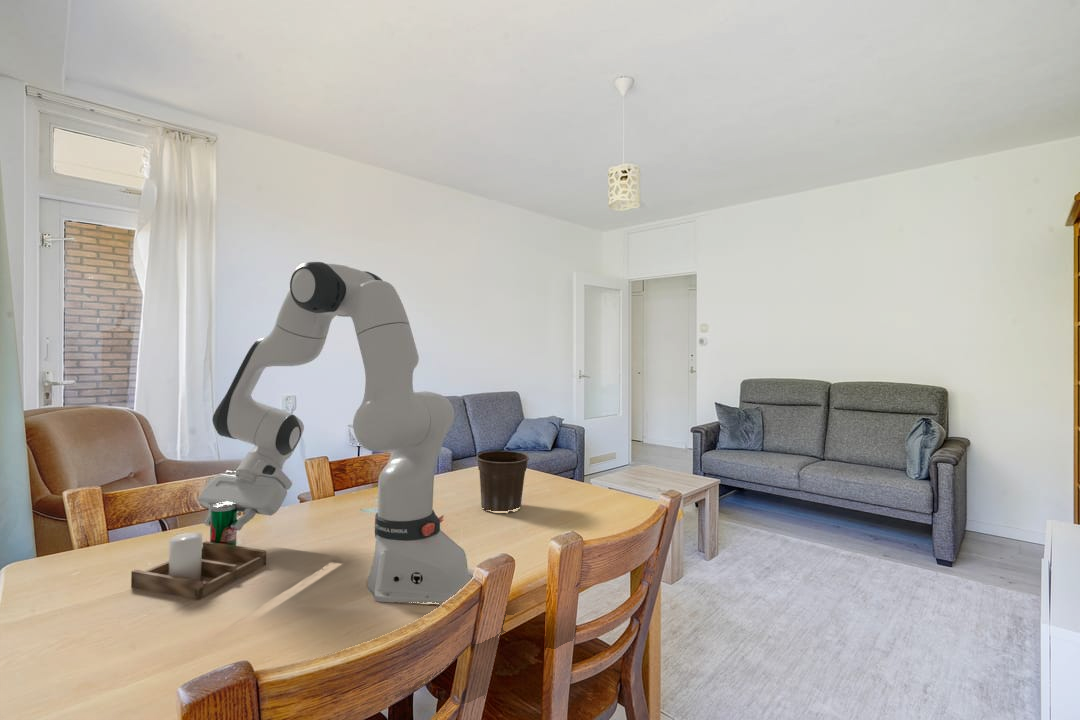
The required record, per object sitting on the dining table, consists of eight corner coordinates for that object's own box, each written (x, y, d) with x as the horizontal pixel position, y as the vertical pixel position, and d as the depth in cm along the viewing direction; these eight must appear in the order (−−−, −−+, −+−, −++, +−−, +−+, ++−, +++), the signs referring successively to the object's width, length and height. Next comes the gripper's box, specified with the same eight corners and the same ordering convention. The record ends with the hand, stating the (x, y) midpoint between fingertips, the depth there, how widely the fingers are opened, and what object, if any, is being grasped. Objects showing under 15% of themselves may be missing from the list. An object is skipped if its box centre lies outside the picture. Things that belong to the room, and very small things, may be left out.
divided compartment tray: (265, 569, 106) (266, 550, 106) (198, 606, 90) (198, 583, 90) (205, 560, 110) (205, 541, 110) (131, 593, 94) (131, 571, 94)
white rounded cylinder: (207, 579, 98) (208, 534, 98) (183, 591, 93) (184, 544, 93) (186, 575, 99) (187, 531, 99) (161, 587, 94) (162, 540, 94)
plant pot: (526, 517, 144) (528, 462, 144) (471, 515, 144) (472, 460, 144) (528, 501, 160) (529, 451, 160) (478, 499, 161) (480, 449, 160)
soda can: (223, 562, 109) (224, 508, 108) (203, 559, 110) (205, 506, 109) (241, 553, 114) (242, 501, 113) (222, 551, 115) (223, 499, 114)
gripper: (214, 462, 121) (175, 515, 111) (285, 470, 116) (250, 525, 106) (229, 476, 125) (193, 528, 116) (298, 484, 120) (266, 538, 111)
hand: (221, 527), depth 111 cm, fingers open, 6 cm apart
